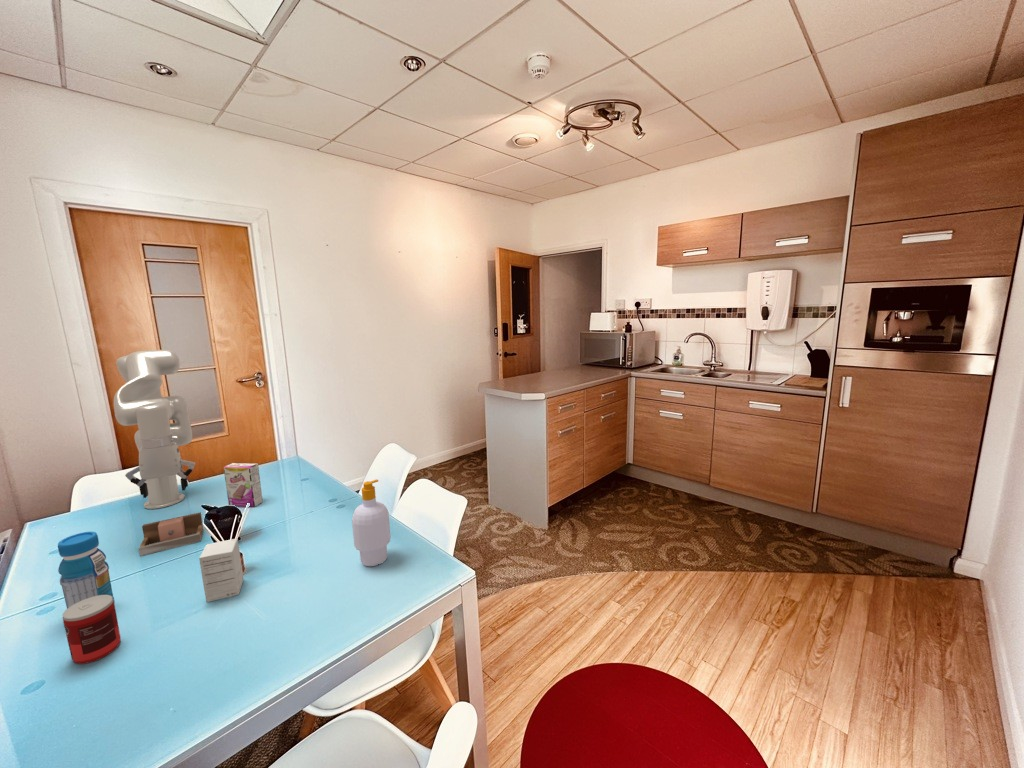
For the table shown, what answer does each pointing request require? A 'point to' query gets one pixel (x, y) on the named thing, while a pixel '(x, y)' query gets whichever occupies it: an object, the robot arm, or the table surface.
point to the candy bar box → (243, 484)
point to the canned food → (91, 628)
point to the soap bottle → (371, 527)
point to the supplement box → (221, 569)
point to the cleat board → (152, 536)
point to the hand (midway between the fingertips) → (165, 492)
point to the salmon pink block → (171, 529)
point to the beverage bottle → (83, 568)
